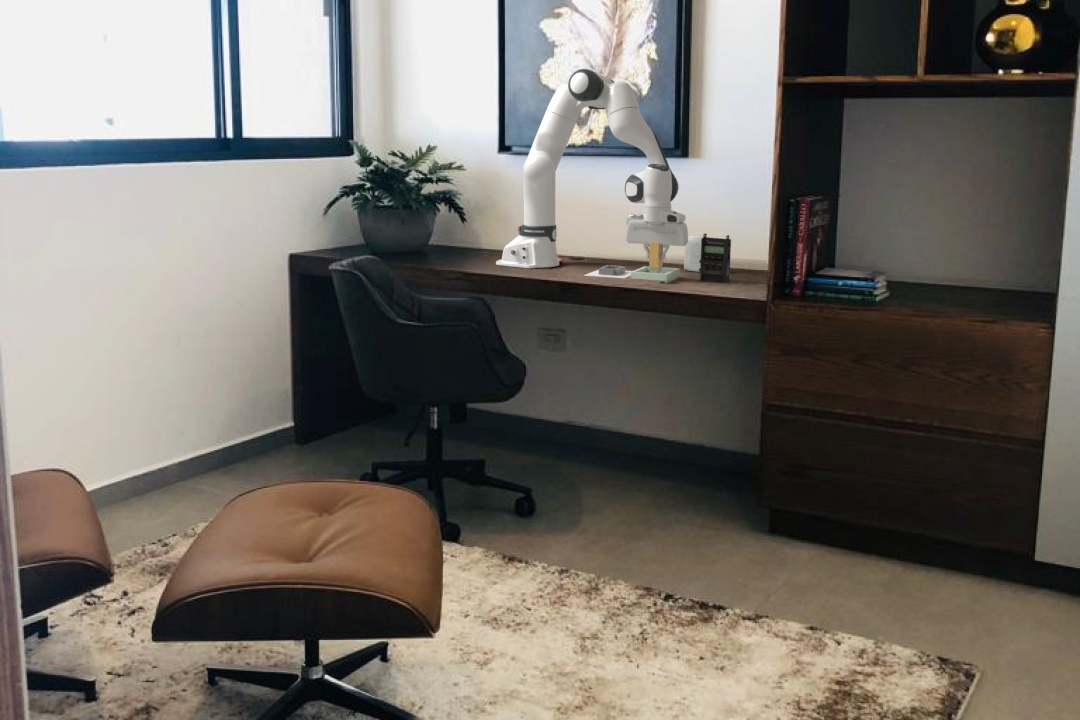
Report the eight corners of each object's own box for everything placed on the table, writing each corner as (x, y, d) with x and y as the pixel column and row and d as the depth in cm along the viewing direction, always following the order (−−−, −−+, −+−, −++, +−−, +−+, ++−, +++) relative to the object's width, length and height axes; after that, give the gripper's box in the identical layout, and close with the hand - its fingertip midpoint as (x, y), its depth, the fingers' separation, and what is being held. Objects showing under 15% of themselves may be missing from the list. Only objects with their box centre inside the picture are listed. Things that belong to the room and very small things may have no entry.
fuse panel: (583, 278, 362) (583, 269, 361) (600, 271, 376) (600, 262, 375) (623, 281, 356) (624, 272, 356) (639, 274, 371) (640, 265, 370)
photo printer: (714, 272, 377) (716, 235, 374) (709, 273, 373) (710, 237, 370) (687, 269, 382) (688, 233, 379) (682, 271, 379) (683, 234, 376)
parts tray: (630, 281, 356) (630, 272, 356) (644, 275, 369) (644, 266, 368) (666, 283, 352) (666, 274, 351) (679, 277, 364) (679, 268, 364)
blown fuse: (649, 273, 358) (649, 242, 356) (653, 271, 363) (654, 240, 361) (657, 273, 357) (658, 242, 355) (662, 271, 362) (663, 241, 359)
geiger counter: (695, 280, 359) (697, 234, 355) (701, 278, 362) (703, 232, 359) (725, 283, 353) (727, 236, 350) (731, 281, 357) (733, 235, 353)
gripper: (623, 215, 357) (622, 257, 360) (684, 217, 349) (683, 261, 352) (629, 213, 363) (628, 255, 366) (690, 216, 355) (688, 258, 358)
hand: (656, 258), depth 359 cm, fingers closed on blown fuse, 3 cm apart
